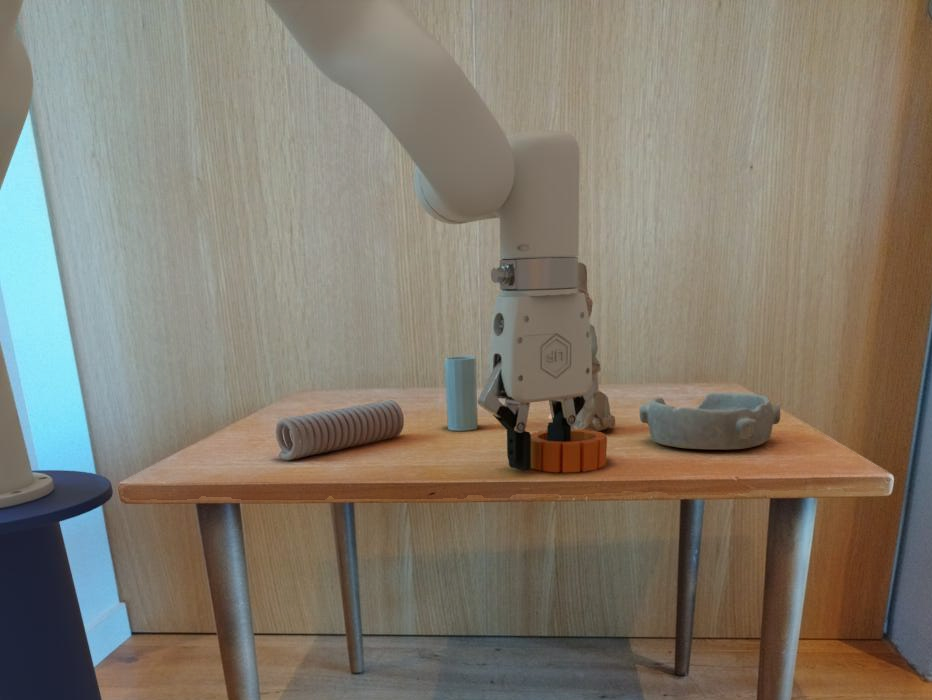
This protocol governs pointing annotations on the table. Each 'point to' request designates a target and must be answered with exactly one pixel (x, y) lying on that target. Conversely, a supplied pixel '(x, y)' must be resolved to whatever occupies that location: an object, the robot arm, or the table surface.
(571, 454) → the ring
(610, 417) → the figurine
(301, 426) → the coil
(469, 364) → the tumbler
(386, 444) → the table surface
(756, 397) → the dish
